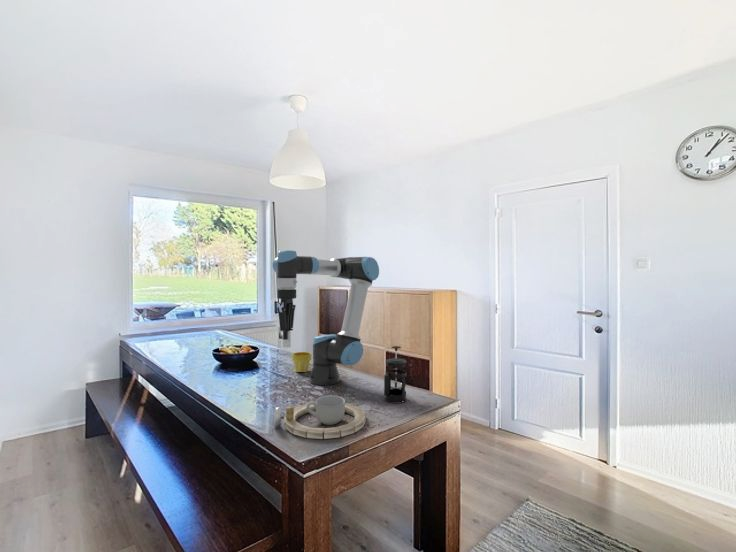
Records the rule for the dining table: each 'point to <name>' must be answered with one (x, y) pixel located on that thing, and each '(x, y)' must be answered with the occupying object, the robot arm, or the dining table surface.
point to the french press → (395, 389)
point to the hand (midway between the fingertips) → (286, 347)
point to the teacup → (328, 409)
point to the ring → (323, 432)
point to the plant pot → (301, 361)
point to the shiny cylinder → (277, 417)
